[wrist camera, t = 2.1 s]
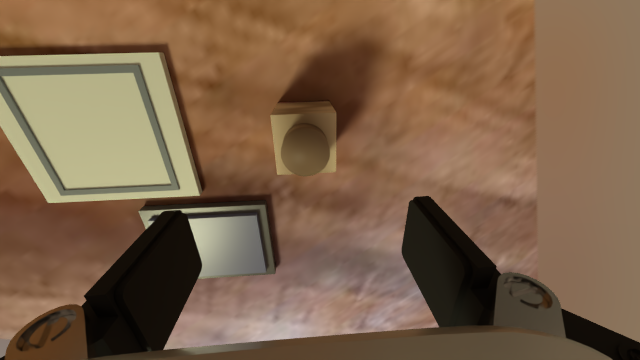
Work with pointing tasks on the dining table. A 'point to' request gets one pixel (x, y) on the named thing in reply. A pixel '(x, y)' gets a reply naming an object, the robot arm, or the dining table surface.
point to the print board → (97, 126)
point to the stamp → (304, 137)
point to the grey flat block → (226, 236)
